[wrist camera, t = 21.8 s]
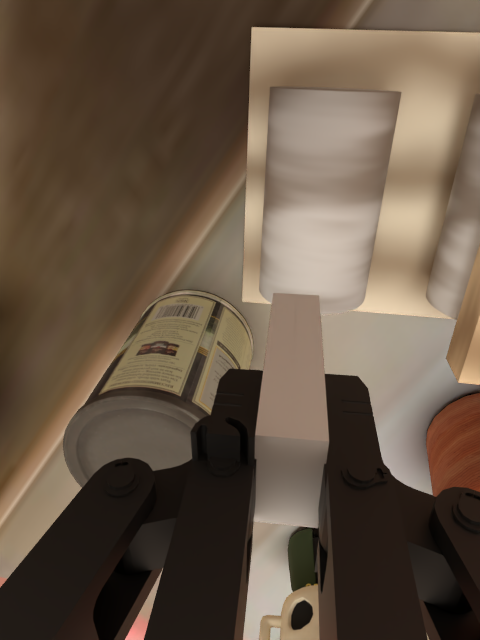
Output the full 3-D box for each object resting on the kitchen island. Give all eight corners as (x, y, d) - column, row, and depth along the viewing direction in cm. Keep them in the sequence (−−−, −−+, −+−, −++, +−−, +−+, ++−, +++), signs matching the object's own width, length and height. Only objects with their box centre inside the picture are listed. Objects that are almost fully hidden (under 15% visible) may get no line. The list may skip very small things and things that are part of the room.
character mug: (369, 522, 47) (389, 664, 36) (368, 565, 50) (386, 709, 39) (264, 518, 49) (251, 653, 37) (269, 561, 52) (259, 697, 41)
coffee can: (179, 405, 43) (128, 540, 31) (114, 318, 39) (27, 431, 27) (276, 367, 39) (263, 501, 27) (215, 268, 36) (168, 371, 23)
